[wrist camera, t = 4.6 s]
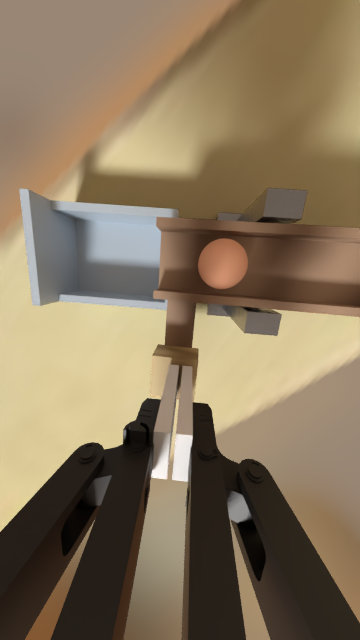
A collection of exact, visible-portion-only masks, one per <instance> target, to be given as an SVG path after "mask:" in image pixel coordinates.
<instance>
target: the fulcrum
mask: <svg viewBox="0 0 360 640" xmlns="http://www.w3.org/2000/svg"><path fill="white" fill-rule="evenodd" d="M306 195H307V190H293V189H277V188H267V189H266V190H265V191H264V192H263V194H262V195H261V196H260V197H259V198H258V199H257V200H256V201H255V202H254V203H253V204H252V205H251V206H250V207H249V208H248V209H247V210H246V211H245V212H244V213H243V214H235V213H221V212H219V213H218V218H217V220H224V221H242V222H260V223H278V224H292V223H294V222H296V221H298V220H301V219H302V214H303V209H304V205H305V200H306ZM207 315H216V316H229V317H231V318H232V320H233V321H234V322H235V323H236V324H237V325H238V326H239V328H240V329H241V330H242V331H243V332H244V333H250V334H262V335H274V336H277V334H278V330H279V325H280V320H281V315H282V314H280V313H278V312H276V311H273V310H271V309H265V308H254V307H243V306H232V305H220V304H209V303H208V309H207Z"/></svg>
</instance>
